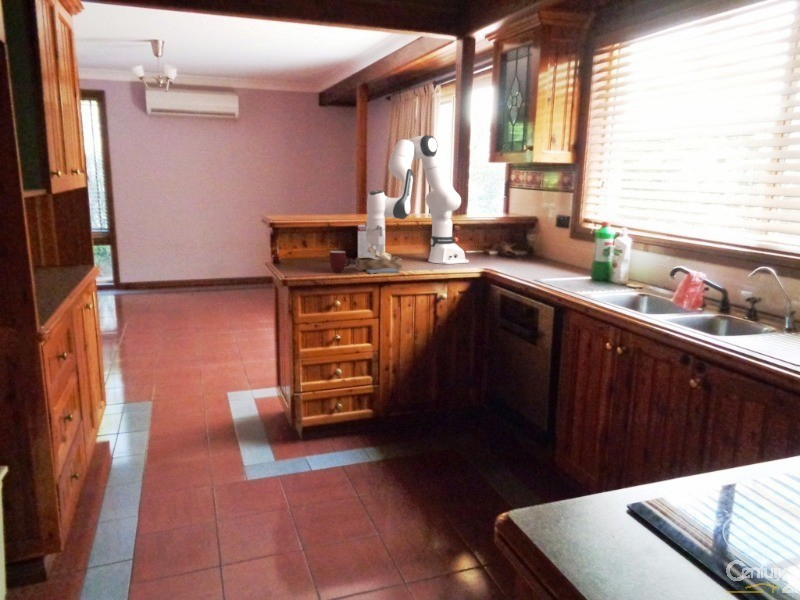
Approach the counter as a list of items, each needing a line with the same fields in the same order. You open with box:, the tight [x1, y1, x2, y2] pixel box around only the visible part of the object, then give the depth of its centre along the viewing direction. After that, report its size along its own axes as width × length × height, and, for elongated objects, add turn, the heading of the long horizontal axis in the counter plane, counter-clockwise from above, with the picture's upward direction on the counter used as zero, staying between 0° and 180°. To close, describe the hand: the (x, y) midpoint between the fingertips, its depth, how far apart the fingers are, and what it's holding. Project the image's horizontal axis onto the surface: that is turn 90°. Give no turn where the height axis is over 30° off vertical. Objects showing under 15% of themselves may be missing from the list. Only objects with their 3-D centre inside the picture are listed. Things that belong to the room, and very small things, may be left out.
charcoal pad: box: [365, 268, 400, 275], centre depth 303 cm, size 15×8×1 cm, turn 109°
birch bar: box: [368, 247, 393, 260], centre depth 300 cm, size 11×4×2 cm, turn 109°
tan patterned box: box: [355, 256, 403, 272], centre depth 311 cm, size 22×8×6 cm, turn 109°
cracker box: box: [357, 223, 386, 258], centre depth 326 cm, size 14×6×21 cm, turn 84°
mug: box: [328, 250, 351, 274], centre depth 300 cm, size 10×8×10 cm
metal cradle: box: [361, 252, 385, 259], centre depth 311 cm, size 19×6×2 cm, turn 109°
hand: (375, 253), depth 299 cm, fingers closed on birch bar, 4 cm apart
